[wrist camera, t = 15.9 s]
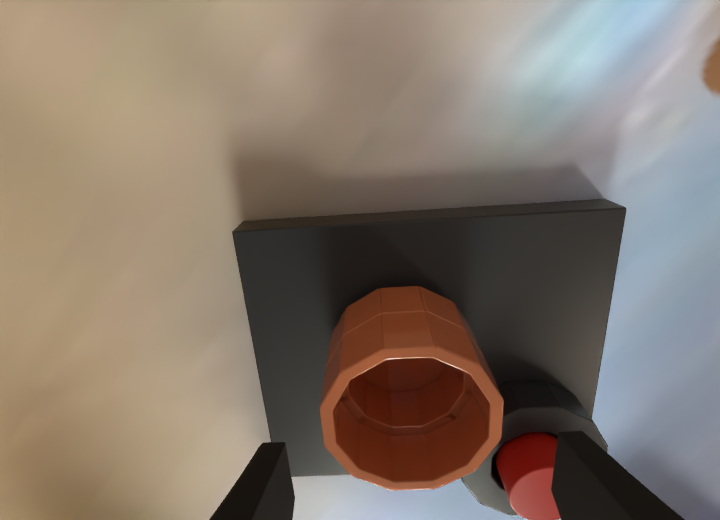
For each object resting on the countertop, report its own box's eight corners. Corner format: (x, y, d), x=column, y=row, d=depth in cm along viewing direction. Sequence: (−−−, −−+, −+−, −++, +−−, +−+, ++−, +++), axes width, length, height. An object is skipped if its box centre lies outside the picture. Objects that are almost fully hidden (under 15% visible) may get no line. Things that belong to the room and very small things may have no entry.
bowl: (470, 276, 16) (508, 341, 11) (467, 394, 18) (498, 487, 13) (326, 284, 16) (311, 351, 12) (339, 400, 18) (330, 493, 14)
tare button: (569, 429, 17) (590, 465, 15) (561, 481, 18) (581, 521, 16) (497, 432, 17) (511, 468, 15) (494, 483, 18) (507, 523, 16)
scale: (606, 198, 16) (657, 219, 13) (568, 456, 20) (600, 513, 18) (242, 220, 16) (216, 245, 14) (285, 466, 21) (272, 523, 18)
